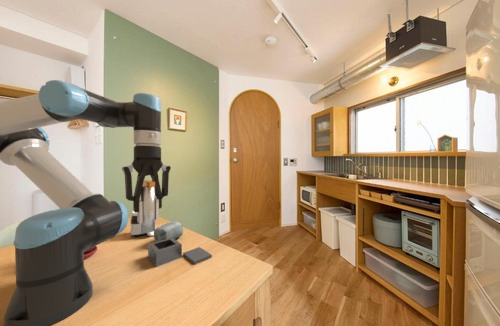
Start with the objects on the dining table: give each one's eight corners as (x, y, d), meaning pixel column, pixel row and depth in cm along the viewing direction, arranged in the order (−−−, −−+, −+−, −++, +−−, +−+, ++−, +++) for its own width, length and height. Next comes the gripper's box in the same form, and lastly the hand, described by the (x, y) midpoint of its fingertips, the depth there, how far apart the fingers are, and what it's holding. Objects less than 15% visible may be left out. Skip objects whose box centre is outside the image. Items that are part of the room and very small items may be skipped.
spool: (163, 242, 76) (161, 218, 81) (149, 249, 80) (147, 225, 84) (189, 239, 88) (186, 217, 92) (176, 245, 91) (173, 224, 95)
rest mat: (194, 264, 66) (194, 261, 66) (183, 255, 73) (183, 252, 72) (211, 257, 71) (211, 254, 71) (199, 249, 77) (199, 247, 77)
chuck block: (156, 266, 65) (156, 252, 65) (148, 257, 71) (148, 244, 71) (181, 257, 71) (181, 244, 71) (172, 249, 78) (171, 237, 77)
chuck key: (145, 236, 55) (144, 182, 54) (137, 228, 60) (137, 180, 60) (159, 232, 57) (159, 181, 57) (151, 225, 63) (150, 179, 63)
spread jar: (132, 232, 96) (132, 209, 96) (157, 228, 101) (156, 207, 101) (128, 241, 85) (128, 215, 85) (156, 237, 90) (156, 212, 90)
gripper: (117, 143, 50) (117, 231, 50) (179, 146, 62) (179, 217, 62) (112, 144, 55) (112, 224, 56) (170, 147, 67) (170, 213, 68)
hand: (148, 220), depth 59 cm, fingers closed on chuck key, 4 cm apart
